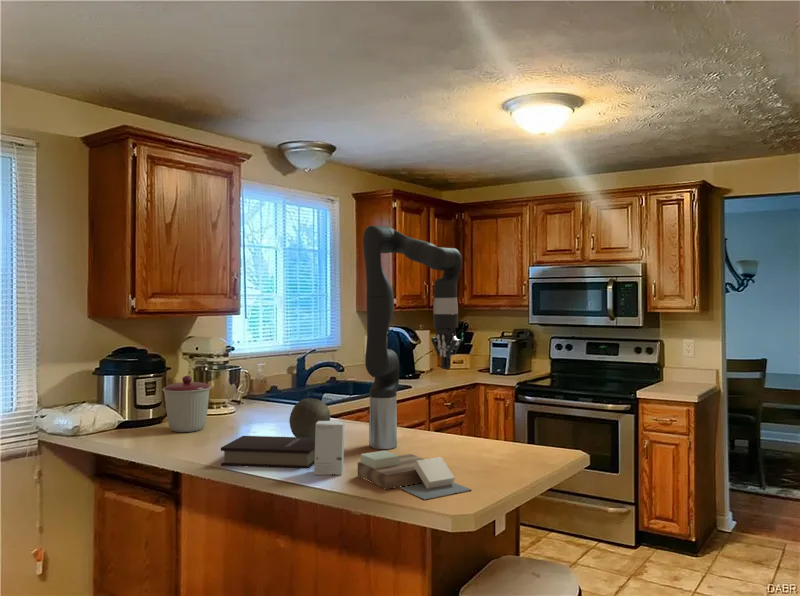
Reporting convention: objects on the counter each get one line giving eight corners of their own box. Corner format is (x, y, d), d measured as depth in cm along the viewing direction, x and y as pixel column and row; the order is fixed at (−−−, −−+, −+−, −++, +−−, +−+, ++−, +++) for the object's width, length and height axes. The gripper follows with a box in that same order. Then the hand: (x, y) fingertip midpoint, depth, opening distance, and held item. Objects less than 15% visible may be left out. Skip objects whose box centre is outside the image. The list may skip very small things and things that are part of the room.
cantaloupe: (303, 446, 228) (302, 403, 228) (282, 440, 239) (282, 398, 239) (337, 440, 237) (337, 398, 237) (316, 434, 248) (315, 394, 248)
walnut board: (357, 476, 190) (357, 462, 190) (410, 467, 200) (410, 453, 200) (386, 489, 177) (386, 474, 177) (441, 479, 186) (441, 465, 186)
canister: (198, 435, 248) (198, 379, 248) (153, 434, 251) (153, 378, 251) (219, 425, 266) (218, 373, 266) (177, 424, 269) (176, 372, 269)
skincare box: (314, 475, 192) (313, 424, 191) (316, 470, 198) (316, 420, 197) (343, 475, 191) (342, 423, 191) (345, 469, 197) (344, 419, 197)
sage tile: (360, 462, 190) (360, 454, 190) (384, 458, 194) (384, 450, 194) (374, 468, 183) (374, 459, 183) (399, 464, 187) (399, 455, 187)
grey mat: (399, 488, 178) (399, 487, 178) (445, 480, 186) (444, 479, 186) (424, 500, 168) (424, 499, 168) (471, 490, 175) (471, 489, 175)
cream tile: (414, 467, 182) (416, 460, 181) (438, 463, 186) (441, 456, 185) (427, 488, 176) (429, 481, 175) (452, 484, 180) (454, 477, 179)
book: (326, 454, 218) (326, 436, 218) (309, 470, 199) (308, 450, 199) (245, 451, 223) (245, 434, 223) (220, 466, 204) (220, 447, 204)
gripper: (423, 312, 208) (423, 367, 208) (448, 313, 197) (448, 371, 197) (443, 312, 212) (443, 366, 212) (468, 312, 201) (469, 370, 201)
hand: (446, 368), depth 204 cm, fingers closed
